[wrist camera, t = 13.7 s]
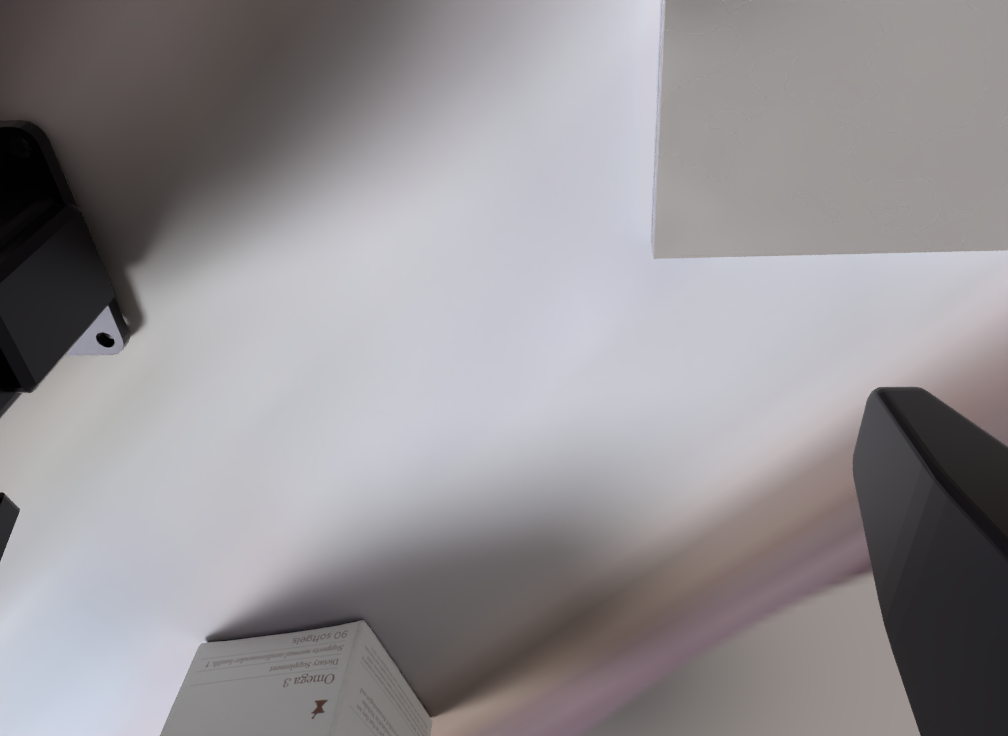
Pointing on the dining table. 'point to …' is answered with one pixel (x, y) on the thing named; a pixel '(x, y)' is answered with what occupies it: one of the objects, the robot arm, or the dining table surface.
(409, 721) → the supplement box
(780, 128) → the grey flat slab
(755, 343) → the dining table surface
